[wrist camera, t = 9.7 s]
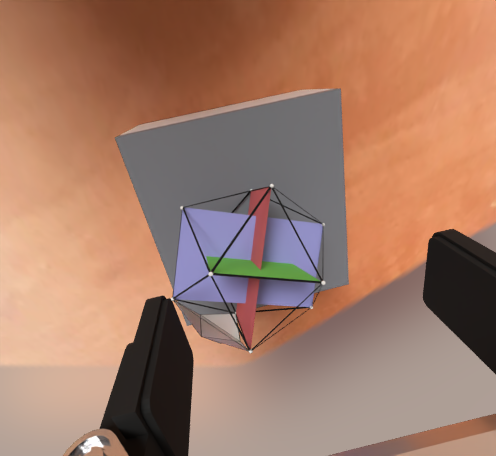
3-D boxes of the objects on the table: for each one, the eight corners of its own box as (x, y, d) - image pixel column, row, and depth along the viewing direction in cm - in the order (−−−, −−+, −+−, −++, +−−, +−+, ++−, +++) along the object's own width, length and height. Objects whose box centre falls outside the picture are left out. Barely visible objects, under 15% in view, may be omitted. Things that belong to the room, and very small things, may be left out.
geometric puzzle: (187, 126, 12) (157, 340, 8) (344, 153, 13) (381, 347, 9) (183, 214, 18) (165, 356, 14) (289, 226, 19) (297, 359, 15)
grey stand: (301, 89, 19) (340, 88, 14) (316, 242, 25) (348, 284, 19) (138, 124, 19) (114, 137, 13) (189, 273, 24) (187, 325, 19)
